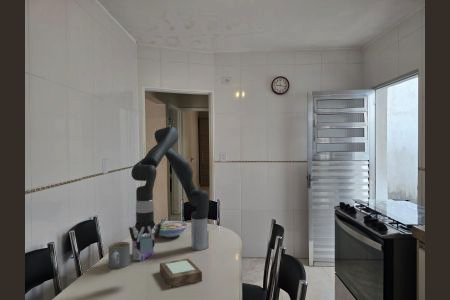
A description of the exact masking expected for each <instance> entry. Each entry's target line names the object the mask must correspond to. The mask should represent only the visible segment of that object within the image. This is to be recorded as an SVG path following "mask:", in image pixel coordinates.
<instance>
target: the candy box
mask: <svg viewBox="0 0 450 300" xmlns="http://www.w3.org/2000/svg"><path fill="white" fill-rule="evenodd" d="M133 233H134V236H135V238H136V237H137V233H138V230H137V229H136V228H135V231H134V232H133ZM152 233H153V234H154V229H152ZM147 235H149V233H148V234H147V233H145V234H142V236H147ZM131 241H132V244H131V245H132V247H131V248H132V250H131V251H132V252H131V253H132V255H131V256H132V257H131V258H132V259H131V261H137V262H144V260H146V259H147V258H148V257H150V256H151V255H152V254H153V253H155V250H154V247H155V246H154V247H153V248H152V251H153V252H148V253H142V254H141V253H140V252H139V251H138V249H137V248H136V241H133V240H132V239H131Z"/></svg>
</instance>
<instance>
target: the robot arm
mask: <svg viewBox="0 0 450 300" xmlns="http://www.w3.org/2000/svg"><path fill="white" fill-rule="evenodd" d="M154 139H155V141H156V145H154V146H153V147H152V148H150V150H149V151H148V152H147V153H146V154H145V156H144V157H143V158H142V159H141V160H139V161H138V162H136V164H135V165H134V166H133V167H132V169H131V173H130V174H131V177H132V179H133V180H134V181H136V182H137V181H138V182H140V181H141V182H144V181H145V184H144V185H141V186H138V187H137V188H135V189H136V191H135V194H136V195H135V198H136V199H135V202H136V203H135V224H134V226H129V227H128V231H129V235H130V237H131V241H132V240H133V241H136V248H137V249H138V251H139V250H140V238H141V236H142V234H145V233H147V234H148V233H149V235H150V236H151V237H152V248H153V247H155V240H156V239H158V238H159V236H160V235H159V233H160V228H161V225H160V224H159V222H157V223H158V224H156V222H155V221H154V219H155V214H154V211H155V210H154V209H155V207H154V186H155V181H156V178H157V173H158V172H157V167H159V165H160V163H161V161H162V159H163V158H164V156H165V157H166V159H167V161H168V162H169V165H170V166H171V168H172V170H173V172H174V174H175V176H176V178H177V179H178V182H179V183H180V185H181V186H182V188H183V190H184V193H185V196H186V198H187V200H188V202H189V204H190V205H192V206H193V207H194V206H195V207H196V210H195V211H193V212H191V216H190V217H191V218H190V219H191V220H190V221H191V225H190V226H191V230H190V231H191V236H190V238H191V239H190V240H191V243H190V244H191V249H192V250H194V251H196V250H197V251H201V250H202V251H203V250H206V249H208V248H209V247H210V245H209V243H210V242H209V239H210V238H209V237H210V233H209V230H208V214H209V208H210V207H209V206H210V195H209V193H208V192H207V191H206V190H201V189H197V188H196V186H195V184H194V181H193V178H194V176H193V175H194V173H193V172H194V171H193V168H192V167H191V164H190V162H189V160H188V159H186V158H185V157H184V156H183V155H181V154H180V153H179V152H177V151H175V149H173V147H174V145H175V144H176V143H177V142H178V141H179V133H178V130H177V128H176V127H175V126H166V127H163V128H159V129H156V130H155V132H154ZM154 226H155V228H156V231H155V230H154V229H153V228H154ZM135 228H136V229H137V230H138V233H137V237H136V238H135V236H134V233H133V232H134V231H135ZM152 229H153V230H154V232H155V233H154V232H153V233H152Z"/></svg>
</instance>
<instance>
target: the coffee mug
mask: <svg viewBox="0 0 450 300" xmlns="http://www.w3.org/2000/svg"><path fill="white" fill-rule="evenodd" d="M130 246H131V245H130V242H128V241H116V242H112V243H110V244H109V245H108V268H109V269H113V270H118V269H119V270H120V269H123V268H124V269H125V268H127V267H129V266H130V264H131V256H130V255H131V253H130V252H131V249H130V248H131V247H130Z"/></svg>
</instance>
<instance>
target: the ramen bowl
mask: <svg viewBox="0 0 450 300" xmlns="http://www.w3.org/2000/svg"><path fill="white" fill-rule="evenodd" d="M158 223H159V224H160V225H161V228H160V233H159V236H162V237H165V238H167V239H168V238H171V237H172V238H175V237H177V236H180V235H181V234H182V233H183V232H184V231H185V230H186V229H187V227H188V223H187V222H185V221H181V220H167V221H166V218H165V219H161V220H160V221H159V222H155V224H158ZM153 231H154V232H155V231H156V228H155V226H154V228H153Z"/></svg>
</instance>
